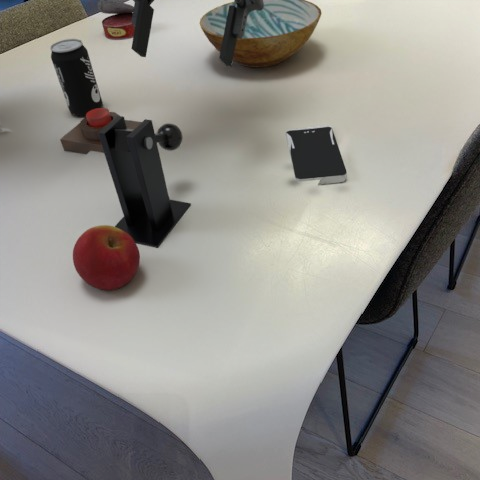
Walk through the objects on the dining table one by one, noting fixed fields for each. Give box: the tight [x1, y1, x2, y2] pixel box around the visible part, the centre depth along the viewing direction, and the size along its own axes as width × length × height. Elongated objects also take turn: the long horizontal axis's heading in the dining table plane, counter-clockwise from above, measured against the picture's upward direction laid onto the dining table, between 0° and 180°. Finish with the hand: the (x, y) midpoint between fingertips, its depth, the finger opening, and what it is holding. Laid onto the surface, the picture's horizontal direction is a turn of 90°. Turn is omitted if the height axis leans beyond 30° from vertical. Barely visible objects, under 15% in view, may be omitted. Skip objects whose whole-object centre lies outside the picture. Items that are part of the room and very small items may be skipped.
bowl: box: [199, 0, 323, 68], centre depth 104 cm, size 25×25×8 cm
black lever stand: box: [98, 115, 192, 249], centre depth 65 cm, size 10×8×15 cm
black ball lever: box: [115, 122, 184, 152], centre depth 65 cm, size 13×4×4 cm, turn 157°
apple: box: [72, 224, 141, 291], centre depth 60 cm, size 8×8×8 cm
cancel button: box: [86, 107, 112, 128], centre depth 84 cm, size 4×4×2 cm
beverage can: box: [49, 38, 103, 118], centre depth 92 cm, size 7×7×12 cm
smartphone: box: [285, 125, 348, 186], centre depth 78 cm, size 8×1×15 cm
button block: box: [59, 111, 143, 155], centre depth 86 cm, size 12×9×4 cm
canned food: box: [96, 0, 135, 41], centre depth 123 cm, size 11×10×10 cm
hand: (180, 57), depth 68 cm, fingers open, 13 cm apart
